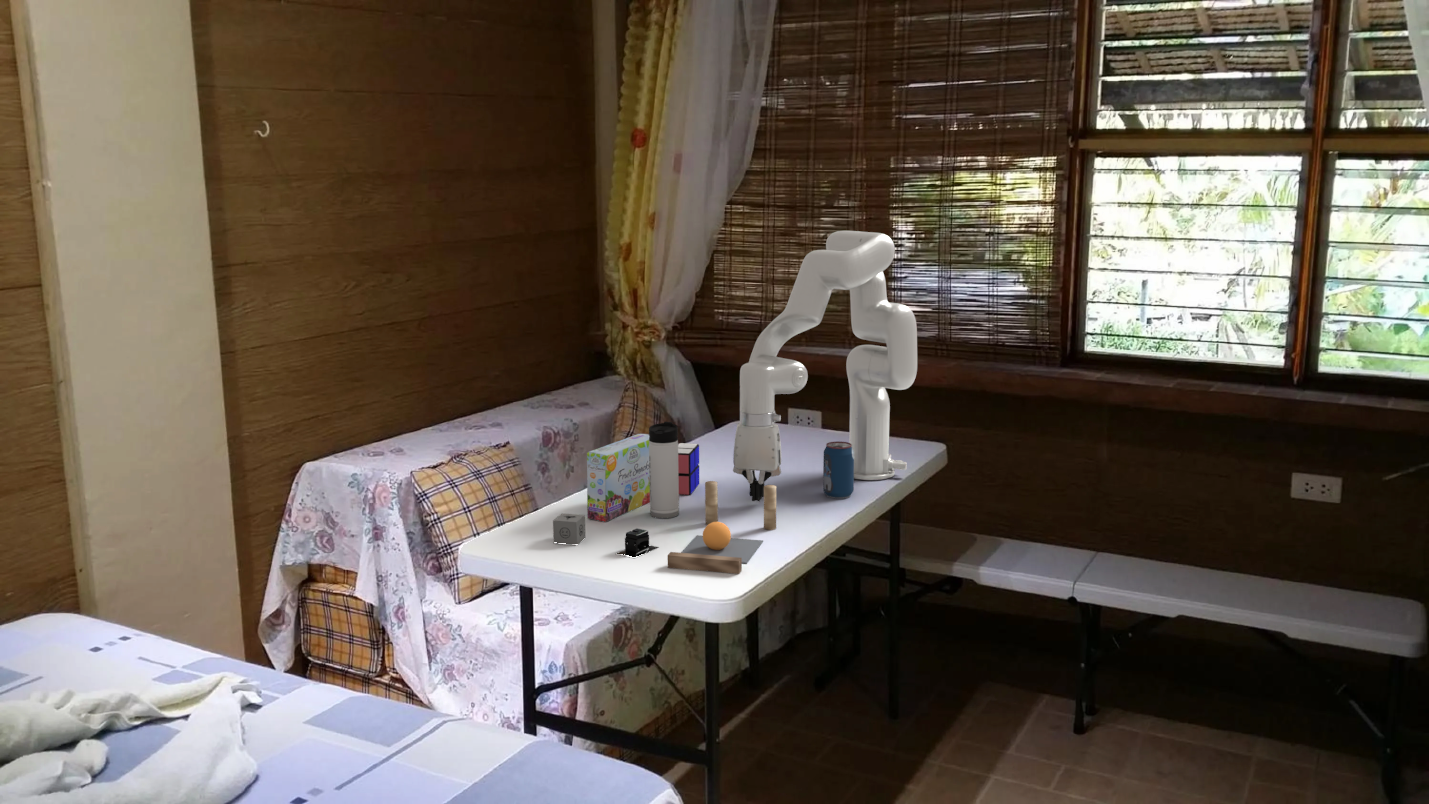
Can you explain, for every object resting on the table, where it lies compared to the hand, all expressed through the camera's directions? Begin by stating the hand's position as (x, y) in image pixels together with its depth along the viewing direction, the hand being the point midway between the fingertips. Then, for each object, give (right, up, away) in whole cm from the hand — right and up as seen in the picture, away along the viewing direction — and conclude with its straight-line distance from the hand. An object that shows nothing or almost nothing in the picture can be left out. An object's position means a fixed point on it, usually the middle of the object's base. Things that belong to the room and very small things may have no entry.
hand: (757, 499), depth 275 cm
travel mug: (-20, -3, -5) cm, 21 cm away
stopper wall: (-11, -10, -40) cm, 43 cm away
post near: (+2, -5, -15) cm, 16 cm away
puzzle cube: (-19, +1, +15) cm, 24 cm away
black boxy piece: (-25, -9, -29) cm, 39 cm away
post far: (-10, -4, -12) cm, 16 cm away
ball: (-9, -5, -29) cm, 31 cm away
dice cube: (-39, -7, -23) cm, 46 cm away
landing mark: (-8, -8, -29) cm, 31 cm away
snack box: (-29, -2, -1) cm, 29 cm away
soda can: (+19, 0, +9) cm, 21 cm away
